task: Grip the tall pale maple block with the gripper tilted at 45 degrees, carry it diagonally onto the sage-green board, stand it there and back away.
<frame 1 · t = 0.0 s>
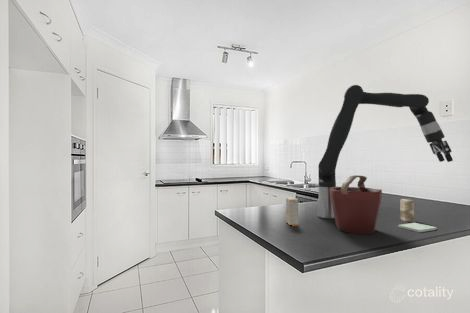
hand: (446, 161, 130), 31 cm above the worktop, tool tilted 20°, fingers open, 8 cm apart
maple block: (407, 220, 137), on the worktop
sage board: (417, 228, 122), on the worktop
supplement box: (292, 224, 131), on the worktop
bucket: (357, 229, 121), on the worktop
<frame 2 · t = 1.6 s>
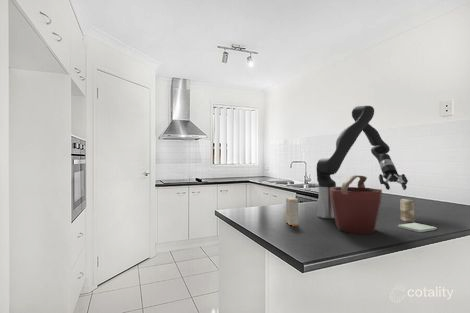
hand: (396, 189, 148), 16 cm above the worktop, tool tilted 45°, fingers open, 8 cm apart
nothing on the worktop moved.
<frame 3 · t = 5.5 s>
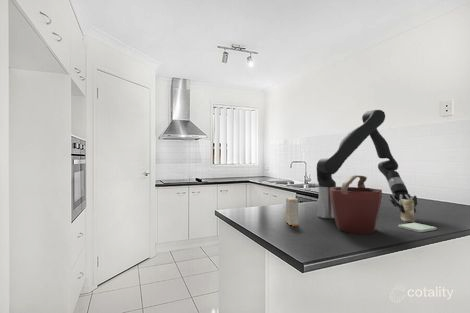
hand: (409, 212, 135), 5 cm above the worktop, tool tilted 45°, fingers closed on maple block, 4 cm apart
maple block: (407, 220, 137), on the worktop, touching gripper
everything else where it was.
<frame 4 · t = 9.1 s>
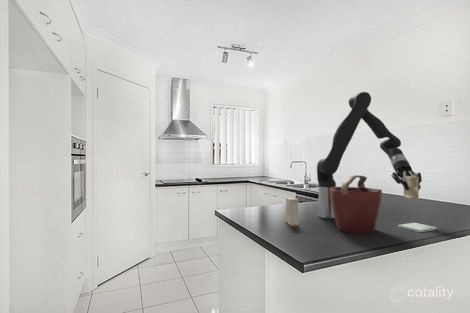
hand: (413, 189, 128), 18 cm above the worktop, tool tilted 45°, fingers closed on maple block, 4 cm apart
maple block: (411, 198, 130), point 13 cm above the worktop, touching gripper
everything else where it was.
when the fingers open (7 cm above the worktop, at t = 12.6 s): maple block drops 1 cm, resting on sage board.
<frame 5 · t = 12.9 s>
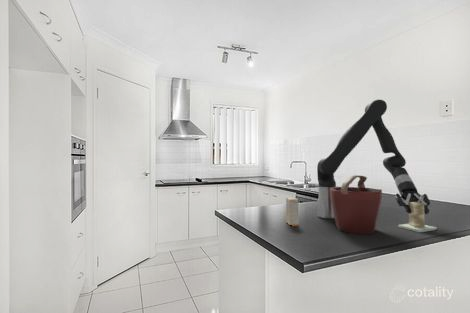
hand: (418, 213, 120), 7 cm above the worktop, tool tilted 45°, fingers open, 6 cm apart
maple block: (416, 226, 122), point 1 cm above the worktop, touching sage board
everything else where it was.
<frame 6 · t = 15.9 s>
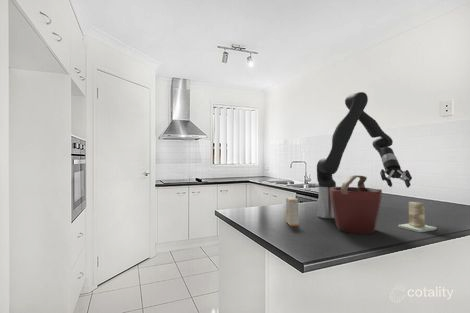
hand: (399, 186, 135), 18 cm above the worktop, tool tilted 40°, fingers open, 8 cm apart
nothing on the worktop moved.
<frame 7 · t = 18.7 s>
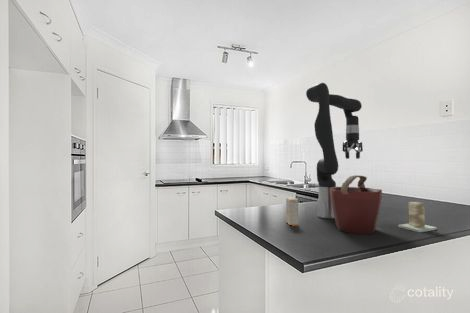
hand: (352, 158, 162), 33 cm above the worktop, tool pointing down, fingers open, 8 cm apart
nothing on the worktop moved.
at the end: maple block inside the target area on the sage board (0.1 cm from its centre), point 1.0 cm above the sage board's base; maple block tilted 0°; the gripper is holding nothing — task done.
